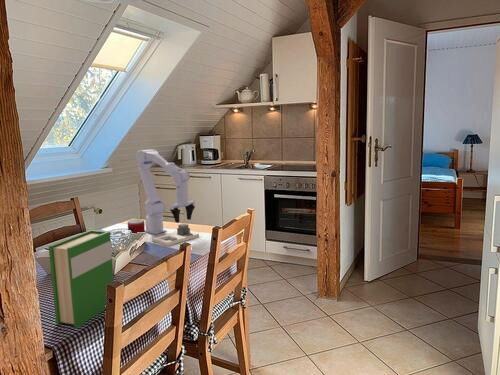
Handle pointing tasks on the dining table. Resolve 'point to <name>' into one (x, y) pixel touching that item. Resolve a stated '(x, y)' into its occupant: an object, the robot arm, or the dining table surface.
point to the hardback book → (81, 276)
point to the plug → (183, 229)
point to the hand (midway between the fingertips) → (183, 220)
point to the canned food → (136, 225)
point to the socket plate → (174, 238)
